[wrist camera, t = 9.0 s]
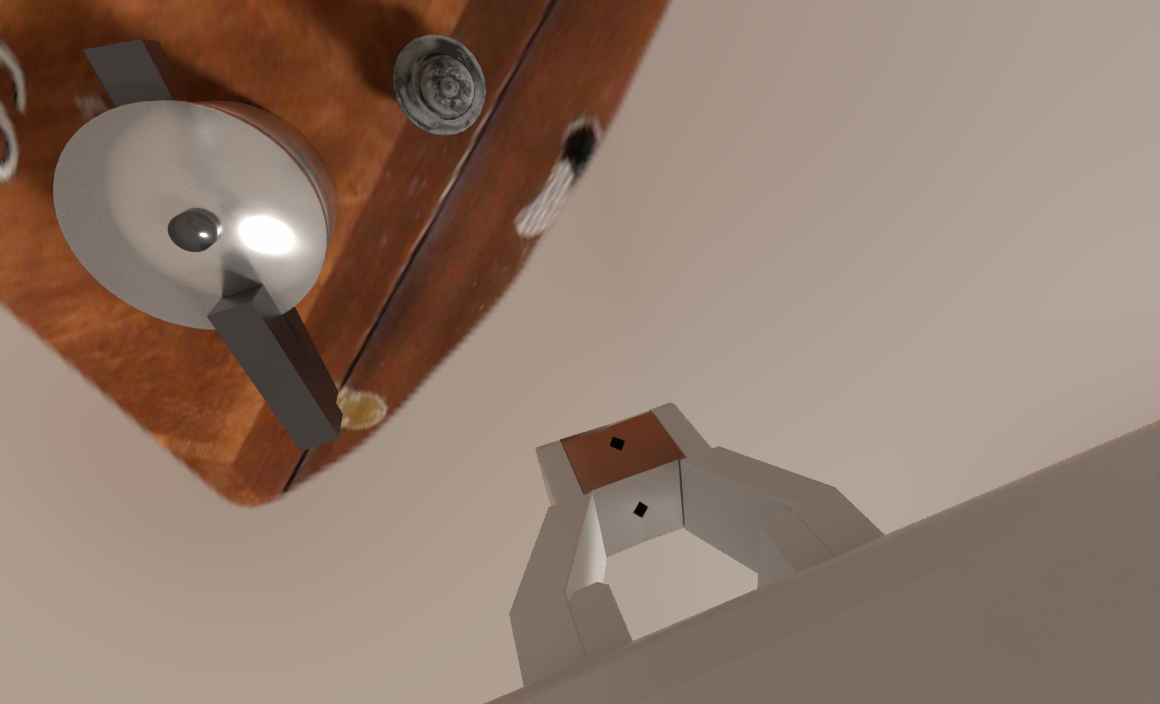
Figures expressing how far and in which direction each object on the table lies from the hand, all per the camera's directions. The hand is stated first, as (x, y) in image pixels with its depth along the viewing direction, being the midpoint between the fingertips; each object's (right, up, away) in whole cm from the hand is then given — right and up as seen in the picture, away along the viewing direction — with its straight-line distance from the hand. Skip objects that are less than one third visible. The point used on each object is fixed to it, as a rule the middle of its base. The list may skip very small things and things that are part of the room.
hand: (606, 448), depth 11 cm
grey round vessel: (-11, +21, +26) cm, 35 cm away
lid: (-21, +6, +20) cm, 30 cm away
